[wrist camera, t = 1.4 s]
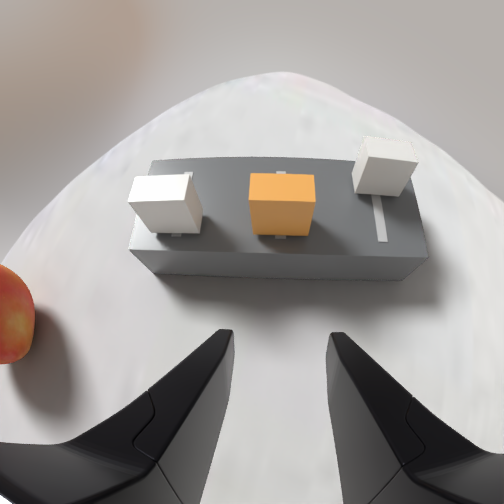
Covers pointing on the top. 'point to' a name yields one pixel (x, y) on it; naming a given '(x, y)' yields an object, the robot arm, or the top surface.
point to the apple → (15, 317)
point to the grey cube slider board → (286, 246)
